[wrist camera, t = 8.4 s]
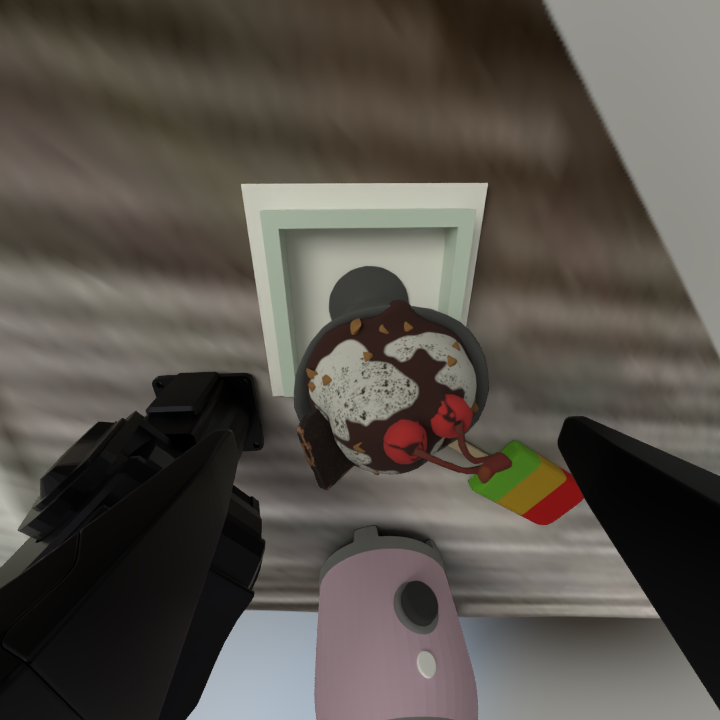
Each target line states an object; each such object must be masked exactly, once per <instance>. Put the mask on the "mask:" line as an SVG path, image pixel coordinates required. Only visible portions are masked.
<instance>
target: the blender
mask: <svg viewBox="0 0 720 720" xmlns="http://www.w3.org/2000/svg"><path fill="white" fill-rule="evenodd" d="M425 543H426V544H425ZM425 543H423V542H420V541H418V540H415V539H411V538H406V537H399V536H378V532H377V528H376V526H369V527H364V528H361V529H358V530H356V531H355V532H354V542H353V543H351V544H349V545H346V546H344V547H343V548H341V549H339V550H338V551H336V552H335V553H334V554H332V555H331V556H330V557H329V558H328V559H327V560H326V562H325V563H324V564H323V566H322V568H321V571H320V575H319V596H320V598H319V613H318V629H317V647H316V668H315V694H314V695H315V712H316V719H317V720H478V699H477V689H476V682H475V677H474V673H473V669H472V665H471V661H470V658H469V654H468V651H467V647H466V644H465V640H464V637H463V633H462V630H461V626H460V622H459V619H458V615H457V612H456V609H455V605H454V602H453V599H452V595H451V592H450V588H449V585H448V582H447V576H446V572H445V568H444V565H443V562H442V559H441V556H440V554H439V551H438V549H437V546H436V545H435V543H434V542H433V541H432V540H431V539H430V540H428V541H426V542H425Z"/></svg>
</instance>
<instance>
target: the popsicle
mask: <svg viewBox="0 0 720 720" xmlns="http://www.w3.org/2000/svg"><path fill="white" fill-rule="evenodd" d="M465 443H466V446H467V448H468V451H469V453H470V454H471V455H472V456H474V457H476V458H479V457H485V456H489V455H488V454H486V453H484V452H482V451H481V450H479V449H477V448H476V447H474V446H472V445H470V444H469V443H467V442H465ZM448 446H449V447H451V448H452V449H454V450H456V451H458V452H460V453H461V454H463V453H462V452H461V450H460V448H459V446H458V440H456V441H454V442H453V443H451V444H449V445H448ZM501 452H502V453H504V454H505V455H506V456H507V457H508V458H509V459H510V460H511V461H512V467H510V468H509V469H507V470H504V471H501V472H498V473H496V474H495V475H494V476H493V477H492V478H491V479H490V480H489V481H488V482H487V483H486V484H485V483H482V482H481V481H480V480H479V478H478V475H477V474H475V475H474V476H473V477H472V478H471V479H470V480H468V482H469V484H470V487H471V488H472V490H473V491H475V492H476V493H478V494H480V495H482V496H484V497H486V498H488V499H490V500H492V501H494V502H496V503H497V504H499V505H501V506H503V507H505V508H507V509H509V510H511V511H513V512H515V513H517V514H519V515H520V516H522V517H524V518H526V519H528V520H530V521H532V522H534V523H536V524H539V525H548V524H550V523H552V522H554V521H555V520H557V519H558V518H560V517H561V516H562V515H564V514H565V513H566V512H568V511H569V510H570V509H572V508H573V507H574V506H576V505H577V504H578V503H580V502H581V501H582V500H583V499H584V497H583V495H582V493H581V491H580V489H579V487H578V485H577V483H576V481H575V479H574V477H573V476H572V475H571V474H569V473H568V472H566V471H565V470H563V469H561V468H560V467H558V466H556V465H555V464H553V463H552V462H550V461H548V460H547V459H545V458H544V457H542V456H540V455H539V454H537V453H536V452H534V451H532V450H531V449H529V448H528V447H526V446H524V445H523V444H521V443H519V442H518V441H512V442H511V443H510V444H509V445H507V446H506V447H505V448H504V449H503V450H502V451H501ZM479 464H481V465H482V464H483V463H479ZM509 491H510V492H509Z"/></svg>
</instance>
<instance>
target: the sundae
mask: <svg viewBox="0 0 720 720" xmlns="http://www.w3.org/2000/svg"><path fill="white" fill-rule="evenodd" d="M329 313H330V317H331V320H332V321H330V322H329V323H328V324H327V325H325V326H324V327H323V328H322V329H321V330H320V331H319V332H318V334H317V335H316V336H315V337H314V338H313V340H312V341H311V342H310V344H309V346H308V347H307V349H306V351H305V353H304V355H303V357H302V360H301V362H300V365H299V367H298V370H297V373H296V375H295V385H294V408H295V411H296V413H297V416H298V418H299V421H300V424H299V426H298V428H297V432H298V436H299V439H300V442H301V445H302V448H303V451H304V453H305V456H306V458H307V460H308V463H309V465H310V466H311V468H312V470H313V472H314V474H315V477H316V480H317V483H318V485H319V487H320V488H323V489H325V490H328V489H329V488H330V487H332V486H333V485H334V484H335V483H336V482H337V481H338V480H339V479H340V478H341V477H343V476H344V475H345V474H346V473H347V472H348V471H349V470H350V469H351V468H352V467H353V466H357V467H359V468H362V469H364V470H367V471H370V472H373V473H374V474H375V475H379V473H381V474H402V473H406V472H409V471H412V470H414V469H417V468H419V467H420V466H421V465H423V464H424V463H426V462H427V461H430V462H432V463H435V464H437V465H440V466H442V467H445V468H448V469H450V470H453V471H456V472H459V473H465V474H477V475H478V478H479V480H480V481H481V482H482V483H485V484H486V483H487V482H488V481H489V480H490V479H491V478H492V477H493V476H494V475H495V474H496V473H498V472H501V471H504V470H507V469H509V468H510V467H512V461H511V460H510V459H509V458H508V457H507V456H506V455H505V454H504V453H502V452H498V453H495V454H493V455H489V456H485V457H479V458H476V457H474V456H472V455H471V454H470V453H469V451H468V448H467V446H466V443H465V437H464V434H465V433H466V432H468V431H469V430H470V428H471V427H472V426H473V425H474V424H475V423H476V422H477V421H478V420H479V417H480V415H481V413H482V411H483V409H484V407H485V403H486V399H487V395H488V391H489V382H488V370H487V365H486V360H485V356H484V354H483V352H482V350H481V347H480V345H479V343H478V341H477V340H476V338H475V337H474V336H473V334H472V333H471V331H470V330H469V329H468V328H467V327H465V326H464V325H463V324H462V323H461V322H460V321H458V320H456V319H454V318H452V317H450V316H448V315H446V314H443V313H441V312H438V311H436V310H433V309H429V308H422V307H416V306H411V305H410V304H409V299H408V294H407V291H406V288H405V286H404V285H403V283H402V282H401V280H400V279H399V278H398V277H397V276H396V275H395V274H393V273H392V272H390V271H388V270H386V269H384V268H382V267H376V266H363V267H359V268H356V269H353V270H351V271H349V272H348V273H346V274H345V275H343V276H342V277H341V278H340V279H339V280H338V281H337V283H336V284H335V286H334V288H333V290H332V292H331V294H330V299H329ZM456 440H458V446H459V448H460V450H461V452H462V453H463V455H464V456H465V457H466V458H467V459H468V460H469V461H470V462H472V463H474V464H479V463H483V464H482V465H479V466H476V467H470V468H464V467H460V466H457V465H455V464H452V463H449V462H446V461H443V460H441V459H439V458H437V457H435V456H433V455H434V454H435V453H436V452H438V451H439V450H441V449H443V448H444V447H446V446H448V445H449V444H451V443H453V442H454V441H456Z"/></svg>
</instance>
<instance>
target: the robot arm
mask: <svg viewBox="0 0 720 720" xmlns="http://www.w3.org/2000/svg"><path fill="white" fill-rule="evenodd" d="M242 379H246V380H247V381H248V382H247V383H245V382H243V381H242ZM159 382H162V383H163V384H164V385H161V384H160V383H159ZM152 386H153V389H154V392H155V395H156V397H157V398H156V399H155V400H154V401H153V402H152V403H151V404H150V406H149V407H148V408H147V409H146V413H147V415H146V416H145V417H143V416H142V415H141V414H139V413H138V412H137V411H135V412H134V413H132V414H131V415H130V416H129V417H127V418H126V419H124V418H122V419H120V420H119V421H118V422H115V423H111V422H98V423H96V424H95V425H94V426H93V427H92V428H91V429H89V430H88V431H87V432H86V433H85V434H84V435H83V436H82V437H81V438H80V439H79V440H78V441H77V442H76V443H75V444H73V445H72V446H71V447H70V448H69V449H68V450H67V451H66V452H65V453H64V454H63V455H62V456H61V457H60V458H59V459H58V460H57V462H56V463H55V464H54V465H53V466H52V467H51V468H50V469H49V470H48V471H47V472H46V474H45V475H44V476H43V477H42V478H41V479H40V496H39V497H38V499H37V500H36V501H35V503H34V504H33V506H32V508H31V510H30V511H29V513H28V514H27V516H26V517H25V519H24V521H23V522H22V524H21V525H20V527H19V528H18V531H20V532H22V533H24V534H26V535H28V536H30V538H29V539H28V540H27V541H26V542H25V543H24V544H23V545H22V546H21V547H20V548H19V549H18V550H17V551H16V552H15V554H14V555H13V556H12V557H11V558H10V559H9V560H8V561H7V562H6V563H5V564H4V565H3V566H2V567H1V568H0V720H186V719H187V717H188V716H189V715H190V714H191V712H192V711H193V710H194V709H195V707H196V706H197V704H198V702H199V700H200V698H201V695H202V693H203V690H204V688H205V686H206V683H207V681H208V679H209V676H210V674H211V671H212V669H213V667H214V664H215V662H216V660H217V658H218V655H219V653H220V651H221V649H222V647H223V645H224V643H225V641H226V639H227V637H228V636H229V634H230V632H231V630H232V629H233V627H234V625H235V623H236V621H237V620H238V618H239V617H240V616H241V614H242V613H243V611H244V610H245V609H246V607H247V606H248V605H249V603H250V602H251V601H252V599H253V597H254V591H253V590H252V588H253V586H254V584H255V582H256V580H257V577H258V574H259V571H260V568H261V563H262V558H263V554H264V551H265V540H264V539H262V537H261V533H262V519H261V517H260V510H259V501H258V500H256V499H255V498H254V497H252V496H251V497H249V496H248V495H246V494H245V493H244V492H242V491H241V490H240V489H238V488H237V487H235V486H234V485H233V483H234V478H235V474H236V469H237V465H238V461H239V458H240V456H241V453H242V451H258V450H261V449H262V448H263V445H264V438H263V433H262V427H261V421H260V416H259V410H258V405H257V399H256V393H255V388H254V382H253V378H252V376H251V375H250V374H247V373H229V374H219V373H217V372H199V373H179V374H178V375H166V376H158V377H156V378H155V379H154V380H153V382H152ZM255 443H258V444H255ZM558 448H559V450H560V452H561V454H562V456H563V458H564V460H565V462H566V464H567V466H568V468H569V470H570V472H571V474H572V476H573V477H574V479H575V481H576V483H577V485H578V487H579V489H580V491H581V493H582V495H583V497H584V498H585V500H586V502H587V503H588V505H589V507H590V508H591V510H592V512H593V513H594V515H595V516H596V518H597V519H598V521H599V522H600V524H601V526H602V527H603V529H604V530H605V532H606V533H607V535H608V537H609V538H610V540H611V541H612V543H613V544H614V546H615V547H616V549H617V551H618V552H619V554H620V555H621V557H622V558H623V560H624V562H625V563H626V565H627V566H628V568H629V569H630V571H631V572H632V574H633V576H634V577H635V579H636V580H637V582H638V583H639V585H640V587H641V588H642V590H643V591H644V593H645V594H646V596H647V597H648V599H649V601H650V602H651V604H652V605H653V607H654V608H655V610H656V612H657V613H658V615H659V616H660V618H661V619H662V621H663V622H664V624H665V626H666V627H667V629H668V630H669V632H670V633H671V635H672V637H673V638H674V640H675V641H676V643H677V644H678V646H679V647H680V649H681V651H682V652H683V653H684V655H685V656H686V658H687V660H688V662H689V663H690V665H691V666H692V668H693V669H694V671H695V672H696V674H697V676H698V677H699V679H700V680H701V682H702V683H703V685H704V686H705V688H706V689H707V691H708V693H709V694H710V696H711V697H712V699H713V700H714V702H715V704H716V705H717V707H718V708H719V710H720V476H718V475H716V474H714V473H712V472H709V471H707V470H705V469H703V468H700V467H698V466H696V465H693V464H691V463H689V462H687V461H684V460H682V459H680V458H678V457H675V456H673V455H671V454H668V453H666V452H664V451H662V450H659V449H657V448H655V447H653V446H650V445H648V444H646V443H643V442H641V441H639V440H637V439H634V438H632V437H630V436H627V435H625V434H623V433H621V432H618V431H616V430H614V429H612V428H609V427H607V426H605V425H602V424H600V423H598V422H596V421H593V420H591V419H589V418H587V417H584V416H571V417H567V418H566V419H565V421H564V423H563V426H562V429H561V432H560V434H559V437H558Z"/></svg>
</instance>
